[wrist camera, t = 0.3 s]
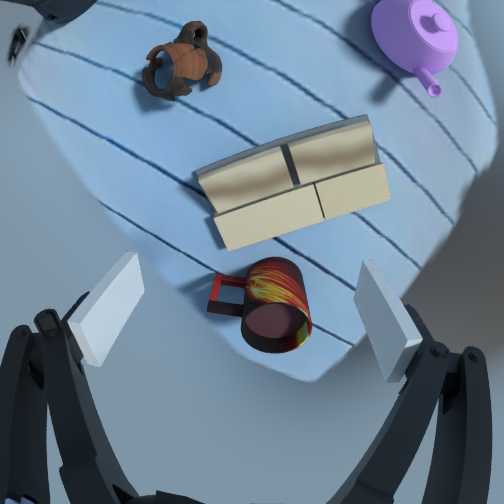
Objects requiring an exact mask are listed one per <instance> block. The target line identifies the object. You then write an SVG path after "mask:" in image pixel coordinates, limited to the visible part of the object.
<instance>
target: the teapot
mask: <svg viewBox="0 0 504 504" xmlns="http://www.w3.org/2000/svg"><path fill="white" fill-rule="evenodd" d="M371 27H372V32H373V35H374V37H375V40H376V42H377V43H378V45H379V47H380V48H381V50H382V51H383V52H384V53H385V55H386V56H387V57H388V58H389V59H390V60H391V61H392V62H394V63H395V64H396V65H398V66H399V67H401V68H402V69H404V70H406V71H408V72H411V73H414V74H415V75H416V76H417V78H418V79H419V81H420V82H421V83H422V85H423V86H424V88H425V89H426V91H427V92H428V94H429V95H430V96H431V97H438V96H439V95H440V94H441V93H442V88H441V87H440V85H439V84H438V83H437V81H436V80H435V79H434V77H433V76H432V74H436V73H438V72H440V71H442V70H444V69H445V68H446V67H448V65H449V64H450V63H451V62H452V60H453V59H454V56H455V54H456V51H457V47H458V33H457V30H456V27H455V25H454V23H453V21H452V19H451V18H450V17H449V15H448V14H447V13H446V12H445V11H444V10H443V9H442V8H441V7H439V6H438V5H436V4H435V3H433V2H431V0H382V1H380V2H379V3H378V4H377V5H376V6H375V7H374V9H373V11H372V15H371Z"/></svg>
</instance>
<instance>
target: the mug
mask: <svg viewBox="0 0 504 504" xmlns="http://www.w3.org/2000/svg"><path fill="white" fill-rule="evenodd" d="M220 285H227V286H234V287H242V288H245V294H244V303H243V305H240V304H233V303H226V302H219V301H216V300H217V296H218V292H219V288H220ZM207 312H211V313H217V314H224V315H231V316H239V317H242V321H241V333H242V336H243V338H244V340H245V341H246V342H247V343H248V344H249V345H250V346H251V347H253V348H254V349H257V350H259V351H262V352H265V353H285V352H289V351H292V350H294V349H296V348H298V347H300V346H301V345H302V344H303V343H305V342H306V340H307V339H308V338H309V336H310V334H311V331H312V322H311V316H310V311H309V306H308V301H307V296H306V291H305V287H304V282H303V277H302V274H301V271H300V269H299V268H298V266H297V265H296V264H294V263H293V262H292V261H290V260H288V259H285V258H281V257H269V258H265V259H262V260H260V261H258V262H256V263H255V264H254V265H253V266H252V267H251V268H250V270H249V272H248V274H247V278H241V277H234V276H227V275H221V274H216V276H215V279H214V283H213V287H212V292H211V296H210V299H209V303H208V307H207Z"/></svg>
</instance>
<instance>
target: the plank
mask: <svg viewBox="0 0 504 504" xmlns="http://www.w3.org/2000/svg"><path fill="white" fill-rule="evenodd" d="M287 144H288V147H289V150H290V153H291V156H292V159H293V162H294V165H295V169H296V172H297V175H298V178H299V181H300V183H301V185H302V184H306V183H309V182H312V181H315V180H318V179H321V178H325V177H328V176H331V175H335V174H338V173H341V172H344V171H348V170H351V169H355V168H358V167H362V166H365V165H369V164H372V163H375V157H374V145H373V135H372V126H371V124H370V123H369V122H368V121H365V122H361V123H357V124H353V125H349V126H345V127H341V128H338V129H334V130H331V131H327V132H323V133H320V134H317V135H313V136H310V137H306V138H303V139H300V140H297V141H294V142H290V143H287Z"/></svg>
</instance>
